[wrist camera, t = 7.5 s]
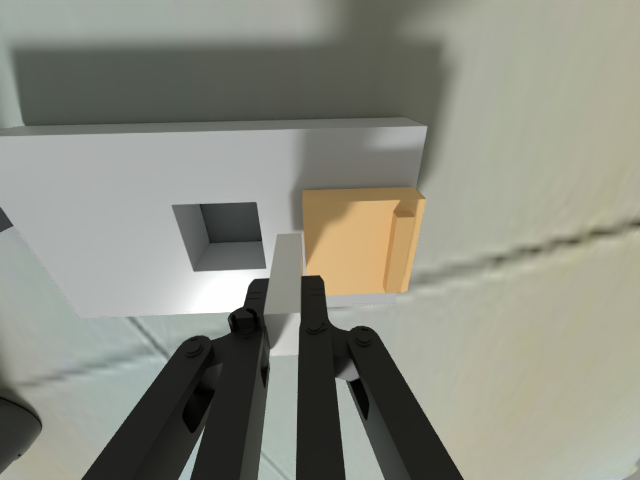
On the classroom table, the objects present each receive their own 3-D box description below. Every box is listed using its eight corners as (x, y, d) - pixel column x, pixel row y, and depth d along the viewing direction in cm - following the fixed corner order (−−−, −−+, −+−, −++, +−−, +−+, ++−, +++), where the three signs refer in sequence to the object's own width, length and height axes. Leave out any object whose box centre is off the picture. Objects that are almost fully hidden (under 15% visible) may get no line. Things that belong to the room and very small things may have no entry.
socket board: (110, 285, 25) (79, 318, 22) (20, 126, 18) (-49, 137, 14) (383, 274, 26) (394, 304, 22) (404, 117, 18) (427, 126, 15)
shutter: (307, 278, 20) (307, 304, 18) (302, 190, 16) (302, 209, 14) (398, 273, 20) (410, 300, 18) (413, 186, 17) (431, 204, 14)
